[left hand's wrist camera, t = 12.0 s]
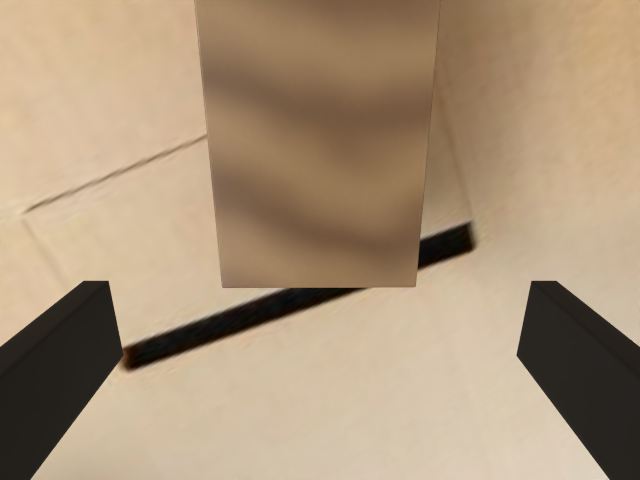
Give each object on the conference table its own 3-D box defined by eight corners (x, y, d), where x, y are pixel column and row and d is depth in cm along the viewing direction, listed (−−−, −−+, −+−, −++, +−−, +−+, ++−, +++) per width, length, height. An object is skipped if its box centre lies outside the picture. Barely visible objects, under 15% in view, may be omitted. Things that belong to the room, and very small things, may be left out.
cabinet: (235, -67, 24) (176, -178, 14) (400, -68, 24) (456, -179, 14) (253, 225, 31) (221, 288, 21) (384, 225, 31) (415, 287, 21)
